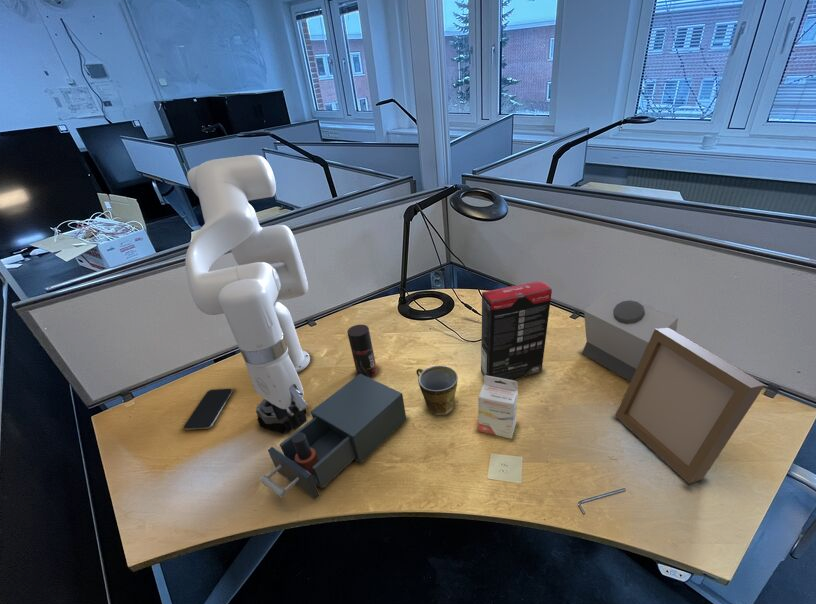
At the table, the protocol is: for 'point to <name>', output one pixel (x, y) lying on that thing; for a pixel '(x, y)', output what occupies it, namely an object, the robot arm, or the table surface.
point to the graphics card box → (514, 330)
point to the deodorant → (362, 350)
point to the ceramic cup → (438, 388)
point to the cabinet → (363, 413)
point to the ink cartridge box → (497, 406)
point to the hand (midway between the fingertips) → (291, 419)
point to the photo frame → (685, 402)
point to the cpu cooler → (272, 418)
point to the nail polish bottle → (304, 453)
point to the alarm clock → (621, 331)
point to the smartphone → (208, 409)
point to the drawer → (330, 451)
